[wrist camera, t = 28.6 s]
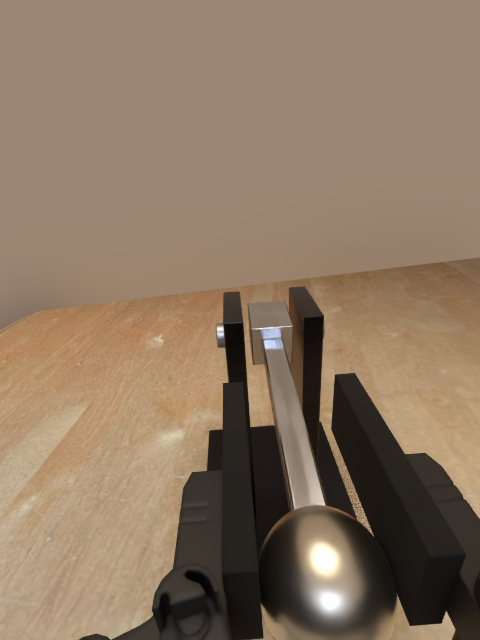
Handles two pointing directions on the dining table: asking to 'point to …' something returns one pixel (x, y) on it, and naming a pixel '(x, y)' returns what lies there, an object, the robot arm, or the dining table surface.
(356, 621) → the silver ball lever
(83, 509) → the dining table surface
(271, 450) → the stand
